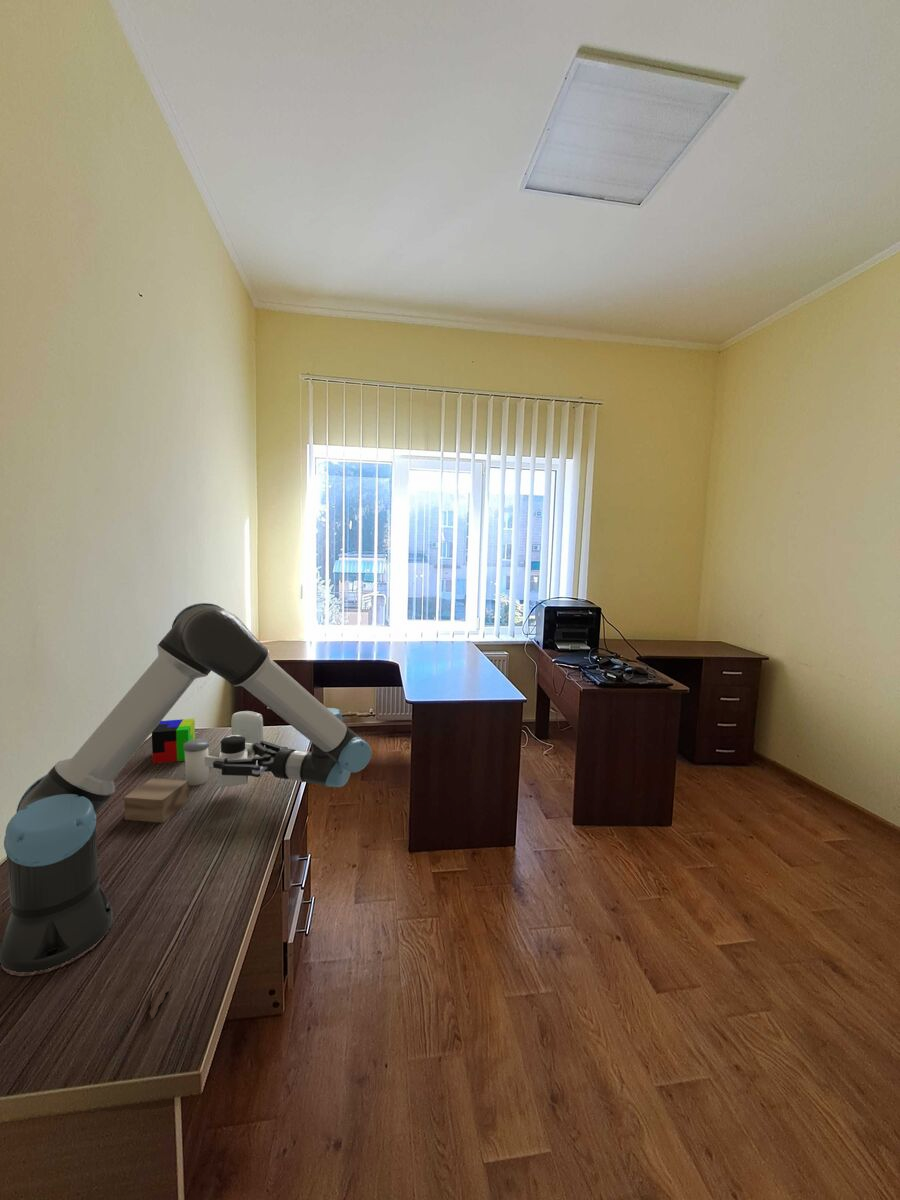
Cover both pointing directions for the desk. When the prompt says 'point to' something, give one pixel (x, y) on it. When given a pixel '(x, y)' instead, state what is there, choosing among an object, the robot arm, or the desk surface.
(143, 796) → the walnut block
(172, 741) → the puzzle toy
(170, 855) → the desk surface
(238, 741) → the medicine bottle
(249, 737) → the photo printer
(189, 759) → the plastic jar
